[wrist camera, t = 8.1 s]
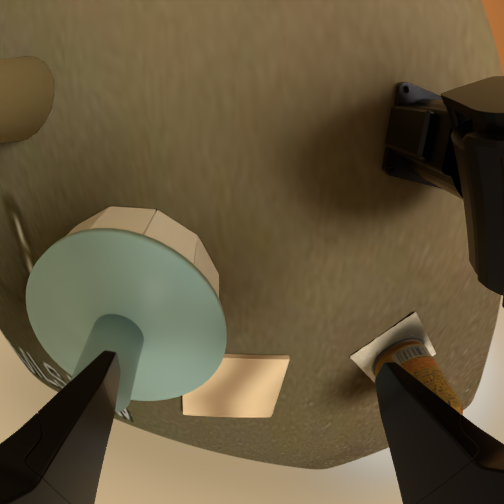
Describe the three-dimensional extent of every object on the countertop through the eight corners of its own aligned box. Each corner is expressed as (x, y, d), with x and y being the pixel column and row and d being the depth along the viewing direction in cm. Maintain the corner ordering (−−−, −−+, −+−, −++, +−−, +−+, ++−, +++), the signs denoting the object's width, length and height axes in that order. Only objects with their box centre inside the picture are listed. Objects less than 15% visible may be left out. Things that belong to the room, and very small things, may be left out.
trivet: (288, 355, 26) (289, 359, 26) (270, 413, 30) (270, 417, 30) (182, 350, 25) (181, 354, 25) (183, 410, 29) (183, 414, 28)
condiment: (380, 389, 31) (419, 478, 20) (349, 355, 27) (394, 465, 17) (435, 351, 29) (487, 434, 18) (414, 309, 26) (482, 408, 15)
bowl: (225, 214, 20) (226, 245, 16) (212, 352, 25) (212, 394, 21) (54, 203, 18) (21, 229, 14) (76, 337, 24) (59, 374, 20)
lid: (237, 238, 16) (245, 299, 11) (218, 399, 22) (220, 460, 17) (14, 221, 14) (-40, 266, 9) (56, 377, 20) (36, 429, 15)
